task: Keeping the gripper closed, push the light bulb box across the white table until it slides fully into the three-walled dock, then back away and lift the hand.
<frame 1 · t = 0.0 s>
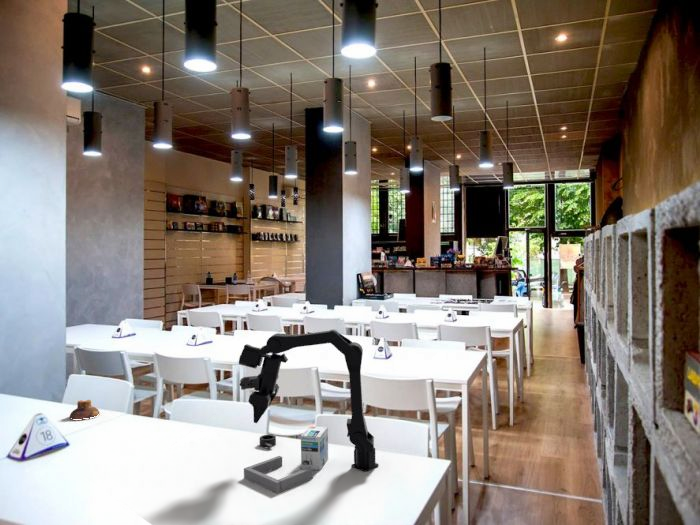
hand: (258, 418, 174), 15 cm above the table, tool pointing down, fingers open, 9 cm apart
brown piece: (84, 417, 232), on the table
light bulb box: (315, 464, 176), on the table
duct tape: (267, 445, 194), on the table
dock: (279, 477, 165), on the table
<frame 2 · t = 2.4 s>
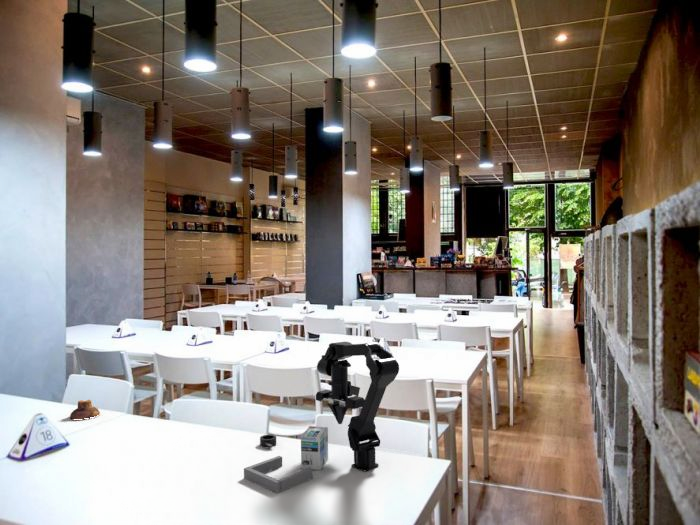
hand: (340, 423, 184), 10 cm above the table, tool pointing down, fingers closed
nothing on the table moved.
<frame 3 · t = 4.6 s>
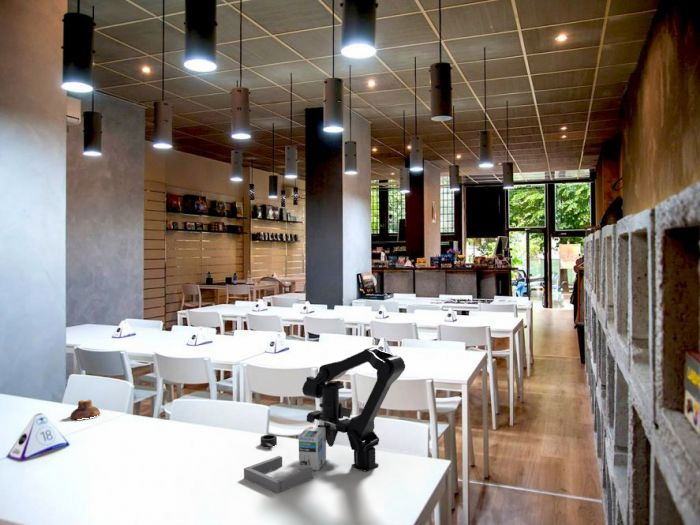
hand: (331, 446, 181), 4 cm above the table, tool pointing down, fingers closed
light bulb box: (312, 464, 175), on the table, touching gripper
everything else where it was.
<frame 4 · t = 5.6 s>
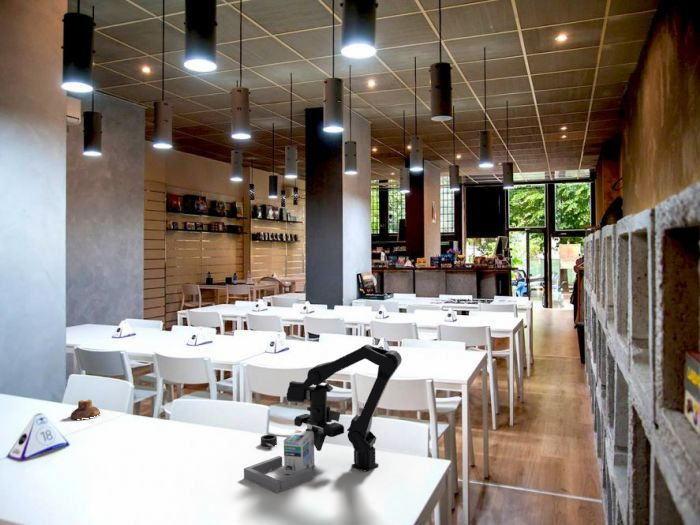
hand: (318, 450, 177), 4 cm above the table, tool pointing down, fingers closed
light bulb box: (299, 469, 171), on the table, touching gripper
everything else where it was.
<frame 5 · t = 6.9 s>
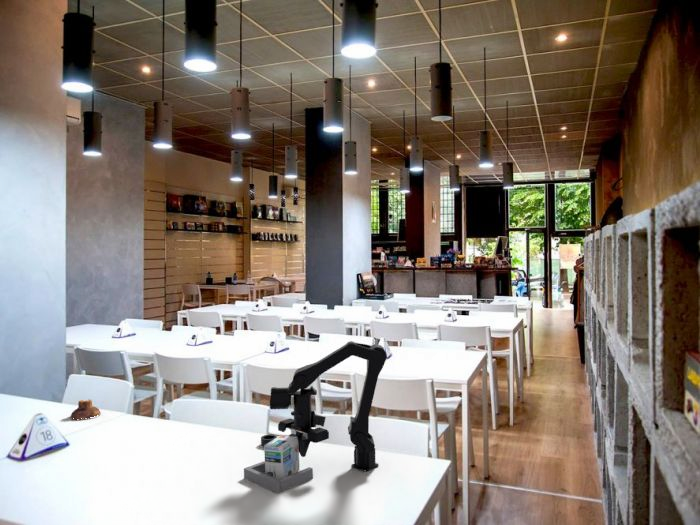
hand: (303, 456, 172), 4 cm above the table, tool pointing down, fingers closed, pressing on light bulb box
light bulb box: (283, 476, 166), on the table, touching gripper
everything else where it was.
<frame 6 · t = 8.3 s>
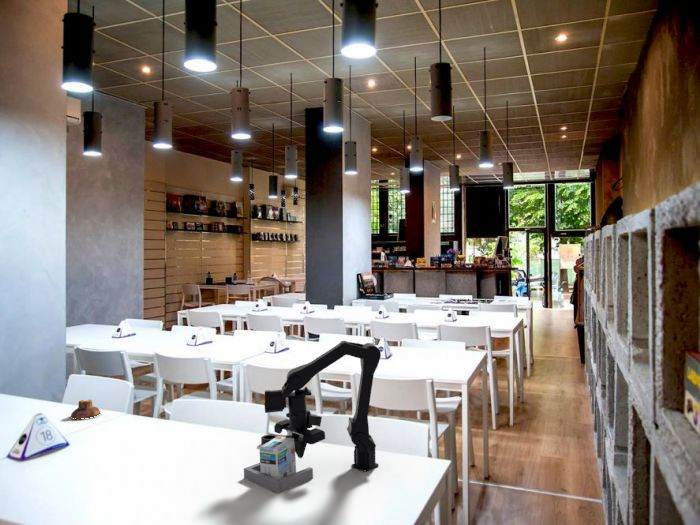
hand: (300, 457, 171), 4 cm above the table, tool pointing down, fingers closed, pressing on light bulb box
light bulb box: (279, 477, 165), on the table, touching dock, gripper
everything else where it was.
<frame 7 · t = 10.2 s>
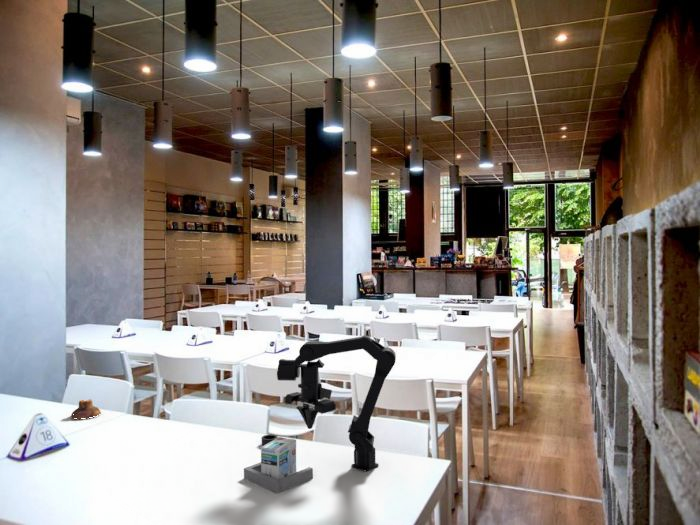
hand: (310, 428, 174), 12 cm above the table, tool pointing down, fingers closed
light bulb box: (279, 478, 165), on the table
everything else where it was.
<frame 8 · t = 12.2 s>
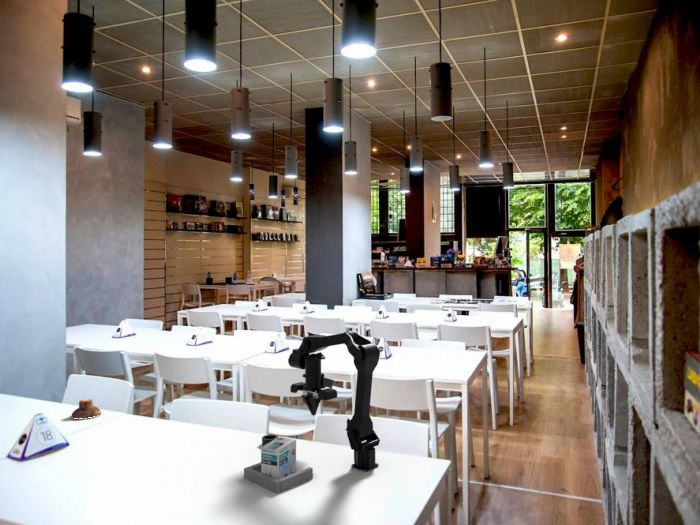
hand: (313, 415, 189), 12 cm above the table, tool pointing down, fingers closed
nothing on the table moved.
at the end: light bulb box inside the target area on the dock (0.1 cm from its centre), point 0.0 cm above the dock's base; light bulb box tilted 0°; light bulb box moved 15.1 cm from its start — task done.
